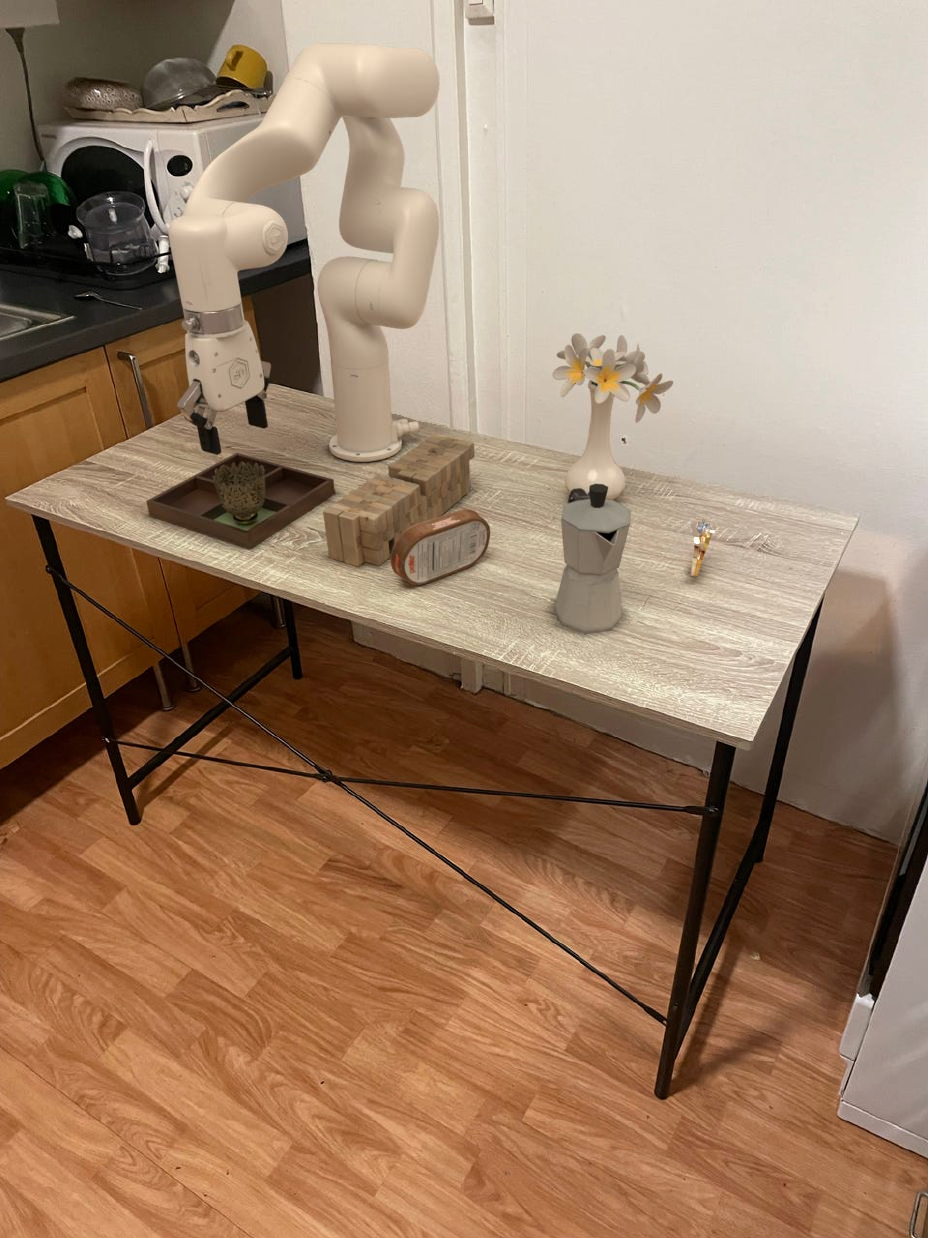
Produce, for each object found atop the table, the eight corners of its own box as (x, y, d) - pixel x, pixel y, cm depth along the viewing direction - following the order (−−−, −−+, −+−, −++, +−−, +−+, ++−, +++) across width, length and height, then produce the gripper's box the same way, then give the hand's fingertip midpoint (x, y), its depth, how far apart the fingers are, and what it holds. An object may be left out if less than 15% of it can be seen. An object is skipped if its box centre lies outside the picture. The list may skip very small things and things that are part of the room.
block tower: (373, 577, 127) (477, 487, 147) (368, 524, 122) (476, 439, 142) (327, 562, 130) (435, 476, 150) (321, 510, 125) (433, 429, 145)
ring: (702, 589, 122) (712, 536, 118) (678, 584, 123) (686, 532, 119) (711, 563, 128) (720, 512, 123) (688, 559, 129) (696, 508, 124)
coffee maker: (638, 637, 113) (654, 507, 103) (569, 646, 112) (579, 516, 102) (598, 575, 125) (609, 453, 115) (536, 582, 124) (542, 460, 114)
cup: (265, 533, 134) (258, 483, 129) (215, 532, 134) (206, 483, 129) (275, 509, 140) (269, 460, 135) (227, 508, 140) (219, 460, 135)
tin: (480, 552, 131) (480, 499, 126) (493, 561, 129) (494, 508, 124) (390, 586, 123) (387, 531, 119) (403, 596, 121) (400, 541, 117)
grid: (239, 466, 154) (236, 452, 153) (335, 494, 146) (333, 479, 144) (149, 516, 140) (145, 500, 138) (250, 549, 132) (247, 533, 130)
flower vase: (629, 535, 134) (648, 368, 120) (526, 499, 144) (532, 340, 130) (671, 502, 143) (693, 343, 129) (571, 470, 152) (581, 318, 138)
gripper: (188, 342, 112) (212, 469, 122) (279, 303, 124) (295, 422, 134) (144, 332, 115) (171, 457, 126) (237, 296, 127) (255, 412, 137)
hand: (235, 438), depth 130 cm, fingers open, 9 cm apart
